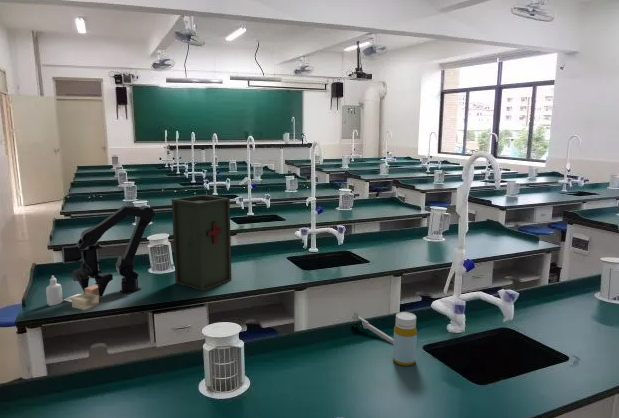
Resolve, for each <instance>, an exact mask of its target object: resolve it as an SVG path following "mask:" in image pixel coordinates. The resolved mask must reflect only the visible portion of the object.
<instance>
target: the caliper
mask: <svg viewBox="0 0 619 418" xmlns="http://www.w3.org/2000/svg"><path fill="white" fill-rule="evenodd" d="M358 320H361V321H362V325H363V327H362V329H365V330H366V329H367V330H369V331H371V332H372V333H374V334H375V335H377V336H378V337H380V338H382V339H383V340H385V341H386V342H388V343H390V344H392V345H393V341H394V337H391V336H389V334H386V333H385V332H383V331H382V330H380V329H378V328H377V327H375V326H374V325H372V324H370V323H369V321H368V320H366V319H364V318H362V317H361V316H360V315H359V312H358V313H357V311H355V312H353V313H352V315H351V320H350V321H351V322H352V321H355V322H356V321H358ZM351 322H350V323H351Z"/></svg>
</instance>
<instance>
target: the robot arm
mask: <svg viewBox="0 0 619 418" xmlns="http://www.w3.org/2000/svg"><path fill="white" fill-rule="evenodd" d="M128 216H130V217H135V218H136V219H135V221H136V222H135V226H134V227H133V230H132V234H131V235H130V238H129V241H128V244H127V247H126V249H125V252H124V253H123V255H122V256H118V257H117V261H116V263H115V270H116V271H117V273H118V274H119V275H120V276H121V277H122V278H121V289H120V290H119V292H121V293H124V294H133V293H135V292H137V291H140V290H142V288H141V287H139V280H138V279H139V273H138V272H137V271H136V270H135V269H134V266H135V256H136V254H137V251H138V248H139V246H140V243H141V241H142V238H143V235H144V233H145V230H146V228H147V227H148V225H149V224H150V223H151V222H152V221H153V218H154V217H155V211H154V209H153V208H152V207H150V206H148V205H141V206H133V205H131V206H130V205H126V204H125V205H122V206H121V207H120V208H119V209H118V210H116V211H115V212H113V213H112V214H111V215H109V216H108V217H107V218H105V219H104V220H102V221H101V222H99V223H98V224H96V225H93V226H90V227H89V228H86V229H85V230H83V231H82V232H81V233H80V238H79V240H78V241H77V242H76V244H75V245H71V246H63V247H62V255H61V256H62V263H63V264H70V263H77V262H80V261H81V259H82V262H80V267H79V268H76V269H75V270H72V271H71V273H70V276H71V279H72V280H73V281H74V282H78V283H79V285H80V287H81V289H82V292H83V294H85V289H84V288H87V287H89V282H90V278H91V279H94V281H95V283H94V284H95V286H98V290H99V296H100V297H99V298H102V297H103V295H104V293H105V291H106V289H107V287H108V285H109V283H110V282H111V281H113V280H114V276H113V274H112V273H110V272H103V273H102V270H101V269H100V268H99V267H100V265H99V264H102V263H101V262H102V261H101V260H99V256H98V255H99V254H98V250H102V249H103V246H102V245H101V244H100V243H98V241H99V240H101V238H102V237H103V236H104V234H105V233H106V232H107V231H109V230H110V229H112V228H113V227H114V226H116V225H117V224H118V223H119V222H121V221H122V220H124V219H125V218H126V217H128Z"/></svg>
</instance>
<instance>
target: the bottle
mask: <svg viewBox="0 0 619 418" xmlns="http://www.w3.org/2000/svg"><path fill="white" fill-rule="evenodd" d="M416 326H417V316H416V315H415V313H412V312H406V311H401V312H397V313H396V315H395V325H394V328H393V339H394V341H393V344H392V360H393V361H394V363H395V364H398V365H400V366H403V367H405V366H406V367H407V366H408V367H409V366H412V365H414V364H415V362H416V358H417V357H416V355H417V339H418V337H417V336H418V329H417V327H416Z"/></svg>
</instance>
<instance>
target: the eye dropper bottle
mask: <svg viewBox="0 0 619 418" xmlns="http://www.w3.org/2000/svg"><path fill="white" fill-rule="evenodd" d="M45 294H46V303H47V304H46V305H47V306H49V307H51V306H52V307H53V306H56V305H59V304H62V303H63V302H64V300H63V299H64V298H63V289H62V285H61V284H60V283H57V278H56V277H55V276H54V275H51V278H50V279H49V285H48V286H46V287H45Z"/></svg>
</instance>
